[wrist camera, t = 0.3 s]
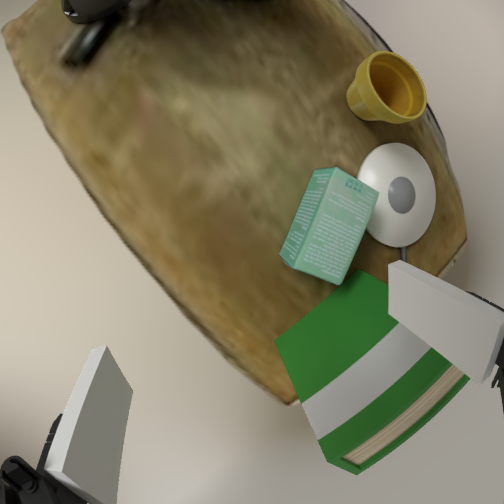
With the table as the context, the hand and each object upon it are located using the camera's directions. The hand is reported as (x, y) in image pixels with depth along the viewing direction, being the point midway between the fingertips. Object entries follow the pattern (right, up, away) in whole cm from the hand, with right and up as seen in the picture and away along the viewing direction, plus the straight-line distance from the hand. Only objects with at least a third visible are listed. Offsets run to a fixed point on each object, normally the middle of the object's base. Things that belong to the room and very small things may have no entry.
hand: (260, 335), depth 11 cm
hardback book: (+12, -8, +32) cm, 35 cm away
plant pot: (+17, +27, +25) cm, 41 cm away
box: (+9, +8, +28) cm, 30 cm away
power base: (+24, +8, +30) cm, 39 cm away
